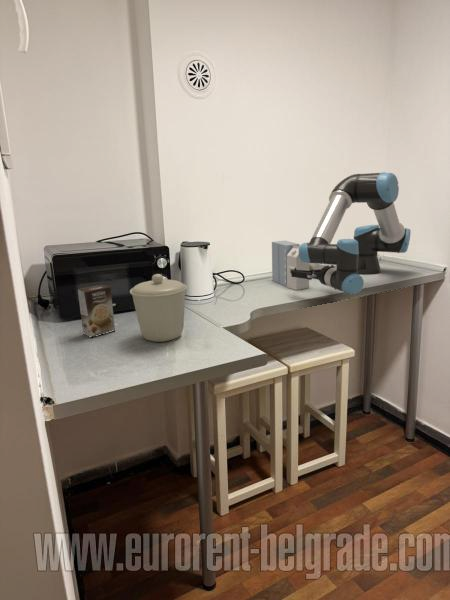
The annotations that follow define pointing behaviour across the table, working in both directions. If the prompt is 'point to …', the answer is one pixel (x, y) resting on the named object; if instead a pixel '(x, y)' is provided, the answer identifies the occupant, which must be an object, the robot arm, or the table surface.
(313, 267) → the grey skull
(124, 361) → the table surface
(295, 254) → the milk carton
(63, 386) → the table surface
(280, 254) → the pack
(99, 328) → the coffee box
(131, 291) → the canister
